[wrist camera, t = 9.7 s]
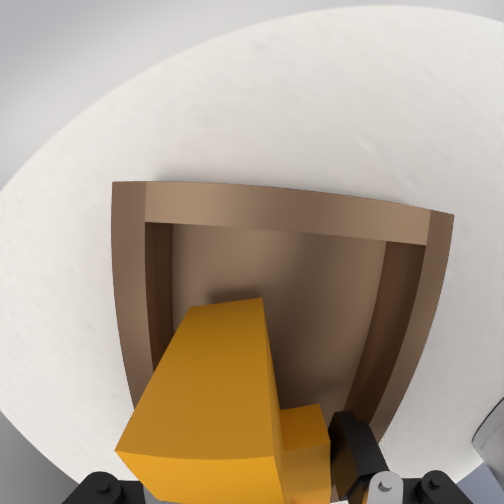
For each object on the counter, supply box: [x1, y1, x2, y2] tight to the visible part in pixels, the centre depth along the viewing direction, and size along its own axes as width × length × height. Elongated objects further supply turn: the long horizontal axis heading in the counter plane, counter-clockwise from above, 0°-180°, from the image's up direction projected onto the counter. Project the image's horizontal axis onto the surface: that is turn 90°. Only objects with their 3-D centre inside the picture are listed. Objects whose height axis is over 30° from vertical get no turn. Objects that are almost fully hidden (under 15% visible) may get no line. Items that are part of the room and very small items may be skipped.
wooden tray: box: [111, 181, 454, 503], centre depth 11 cm, size 11×18×4 cm, turn 176°
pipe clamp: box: [115, 297, 331, 504], centre depth 7 cm, size 12×4×6 cm, turn 9°
